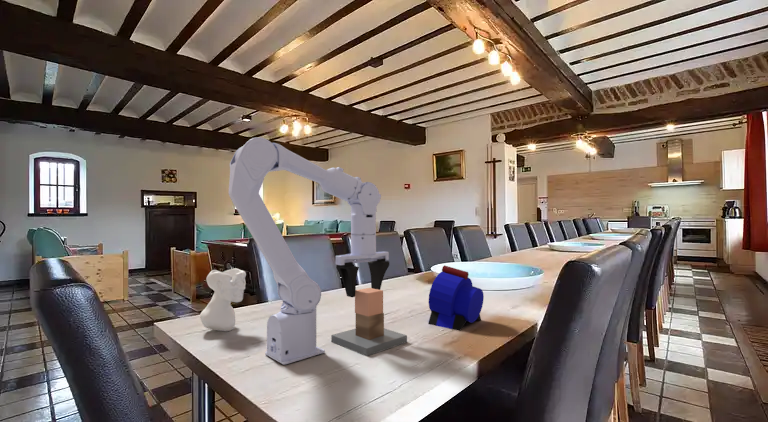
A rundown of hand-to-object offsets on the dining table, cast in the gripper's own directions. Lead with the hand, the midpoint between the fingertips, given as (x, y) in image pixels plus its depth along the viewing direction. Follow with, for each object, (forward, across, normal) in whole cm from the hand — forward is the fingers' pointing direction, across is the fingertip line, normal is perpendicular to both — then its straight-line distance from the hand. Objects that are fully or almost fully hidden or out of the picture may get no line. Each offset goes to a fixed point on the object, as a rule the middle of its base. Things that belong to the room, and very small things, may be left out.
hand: (363, 294), depth 83 cm
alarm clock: (+11, +27, -7) cm, 30 cm away
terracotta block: (+4, 0, -2) cm, 4 cm away
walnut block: (+9, 0, -2) cm, 9 cm away
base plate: (+10, 0, -2) cm, 11 cm away
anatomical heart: (+10, -20, +29) cm, 37 cm away
